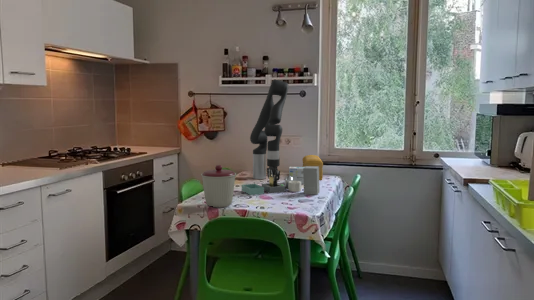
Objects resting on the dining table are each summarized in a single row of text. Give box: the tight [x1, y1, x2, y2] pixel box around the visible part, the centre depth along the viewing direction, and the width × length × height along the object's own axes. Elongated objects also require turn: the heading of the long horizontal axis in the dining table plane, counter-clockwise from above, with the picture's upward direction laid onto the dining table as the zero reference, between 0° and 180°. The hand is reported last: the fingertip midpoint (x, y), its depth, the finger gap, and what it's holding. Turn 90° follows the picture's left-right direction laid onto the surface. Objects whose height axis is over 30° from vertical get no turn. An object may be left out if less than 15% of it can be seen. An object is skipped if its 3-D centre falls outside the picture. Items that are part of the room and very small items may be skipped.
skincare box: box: [303, 166, 320, 196], centre depth 248 cm, size 8×7×16 cm
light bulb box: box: [288, 166, 304, 185], centre depth 278 cm, size 11×7×11 cm, turn 84°
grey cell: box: [284, 175, 293, 190], centre depth 263 cm, size 5×5×8 cm
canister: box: [200, 164, 237, 208], centre depth 219 cm, size 18×18×21 cm
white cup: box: [287, 181, 302, 193], centre depth 256 cm, size 7×8×5 cm
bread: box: [301, 154, 324, 181], centre depth 302 cm, size 24×13×15 cm, turn 178°
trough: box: [241, 183, 265, 196], centre depth 251 cm, size 13×9×4 cm, turn 25°
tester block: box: [261, 182, 286, 194], centre depth 256 cm, size 12×10×4 cm
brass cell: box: [268, 176, 275, 187], centre depth 255 cm, size 5×5×8 cm
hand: (273, 186), depth 256 cm, fingers closed on brass cell, 4 cm apart
